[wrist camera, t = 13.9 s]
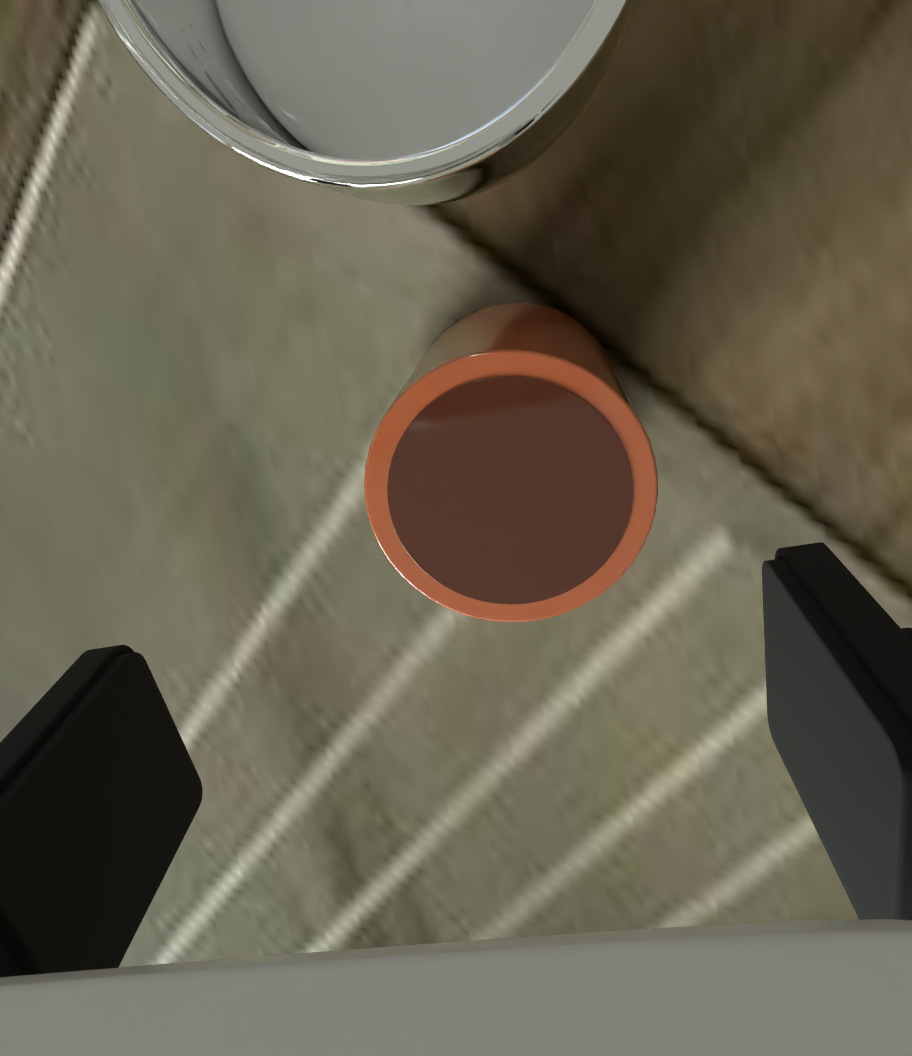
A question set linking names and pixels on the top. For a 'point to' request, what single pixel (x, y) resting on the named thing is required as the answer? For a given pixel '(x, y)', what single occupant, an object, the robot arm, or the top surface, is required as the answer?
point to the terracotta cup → (512, 468)
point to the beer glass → (379, 84)
